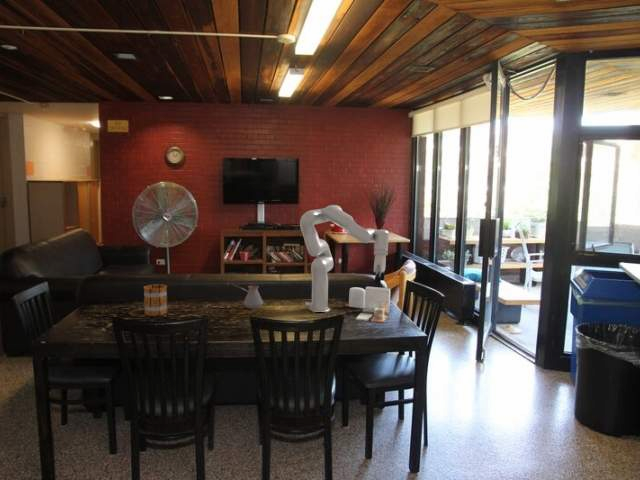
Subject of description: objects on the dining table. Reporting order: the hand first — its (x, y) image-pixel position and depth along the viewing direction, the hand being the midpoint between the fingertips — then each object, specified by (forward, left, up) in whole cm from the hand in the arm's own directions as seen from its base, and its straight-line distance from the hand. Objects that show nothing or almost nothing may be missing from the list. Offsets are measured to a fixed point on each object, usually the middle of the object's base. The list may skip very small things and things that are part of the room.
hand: (379, 281), depth 278 cm
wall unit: (-3, +12, -21) cm, 24 cm away
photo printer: (-17, +19, -21) cm, 33 cm away
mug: (-122, -34, -21) cm, 128 cm away
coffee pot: (-80, -7, -21) cm, 83 cm away
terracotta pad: (+1, -2, -21) cm, 21 cm away
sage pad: (-7, -2, -21) cm, 22 cm away
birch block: (+1, -2, -20) cm, 20 cm away
